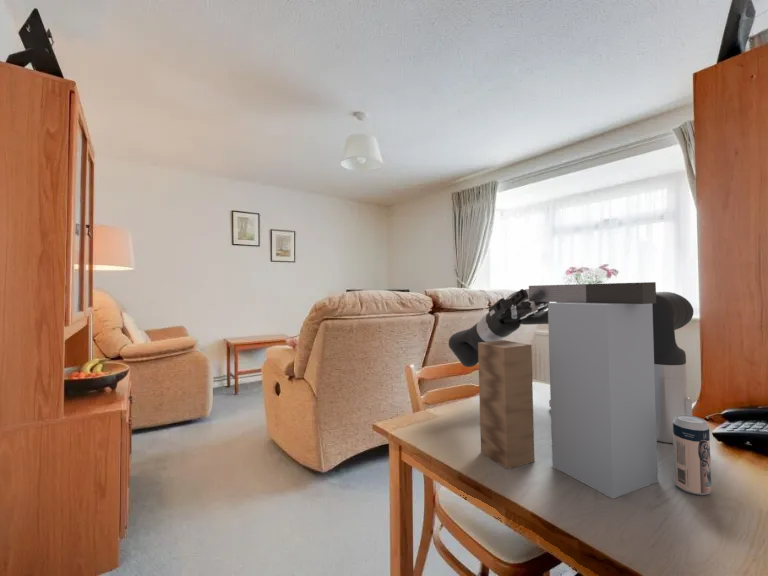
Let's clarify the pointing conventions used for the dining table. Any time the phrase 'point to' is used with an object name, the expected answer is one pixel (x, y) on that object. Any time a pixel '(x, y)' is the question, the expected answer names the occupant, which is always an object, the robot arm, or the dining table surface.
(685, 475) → the cream and blue canister
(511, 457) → the walnut block
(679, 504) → the dining table surface
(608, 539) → the dining table surface
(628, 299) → the dark grey long bar
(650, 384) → the tall stand
